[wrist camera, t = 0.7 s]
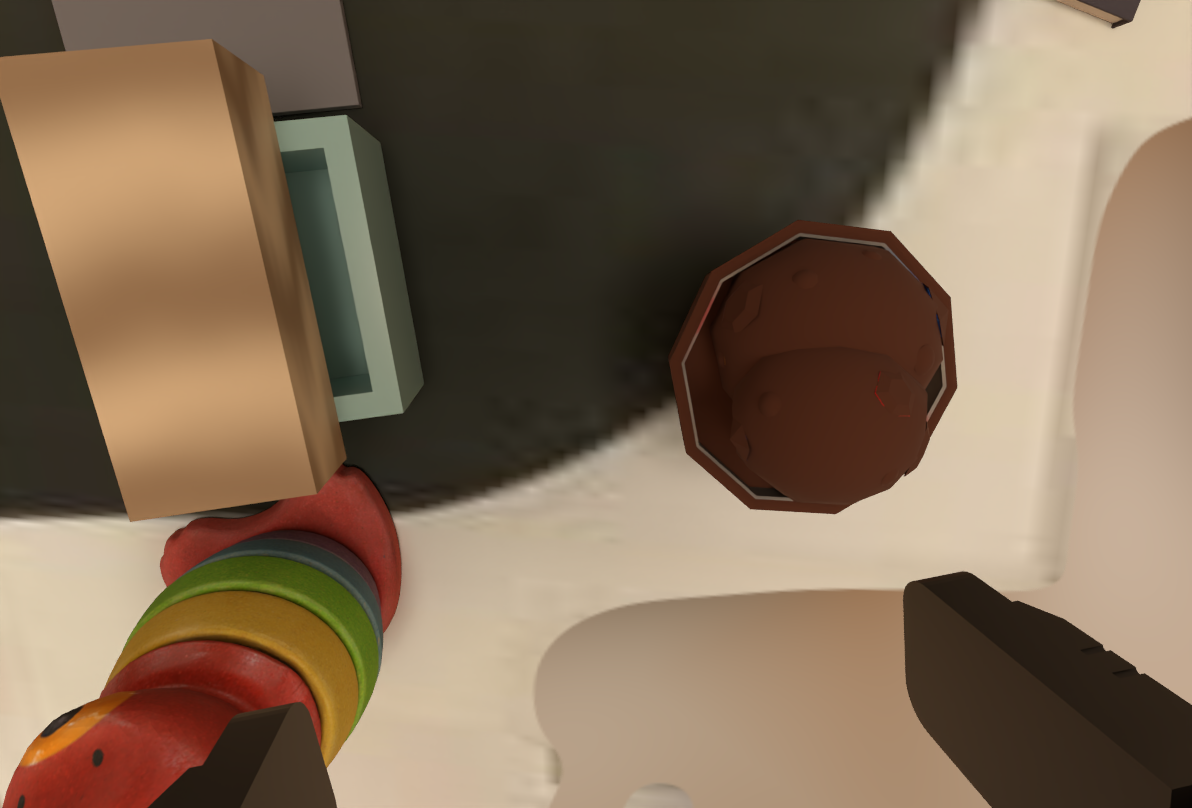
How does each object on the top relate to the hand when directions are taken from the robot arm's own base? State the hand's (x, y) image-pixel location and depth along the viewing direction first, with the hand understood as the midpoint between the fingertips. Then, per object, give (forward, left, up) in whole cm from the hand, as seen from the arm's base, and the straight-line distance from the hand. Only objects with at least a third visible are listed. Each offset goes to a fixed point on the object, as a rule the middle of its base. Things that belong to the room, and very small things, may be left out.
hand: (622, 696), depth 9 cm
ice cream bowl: (0, +10, -25) cm, 26 cm away
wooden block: (-6, -11, -18) cm, 22 cm away
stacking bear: (+9, -13, -25) cm, 29 cm away
